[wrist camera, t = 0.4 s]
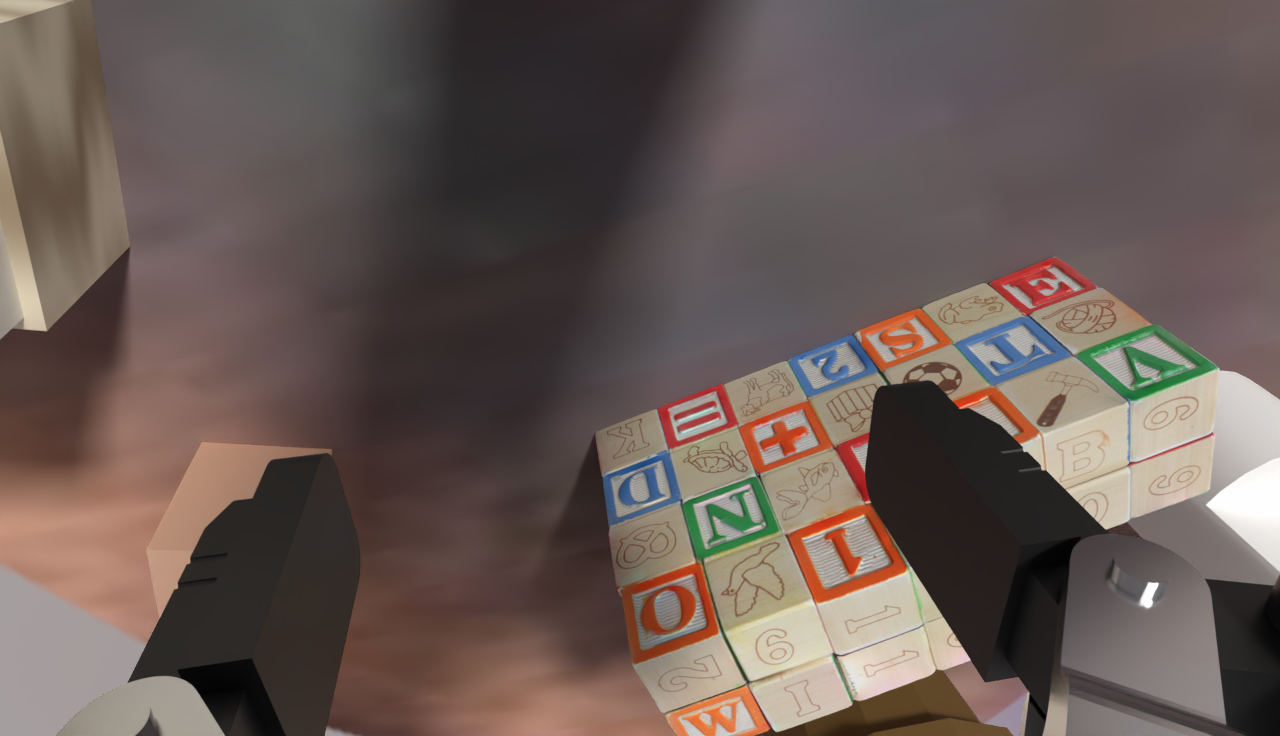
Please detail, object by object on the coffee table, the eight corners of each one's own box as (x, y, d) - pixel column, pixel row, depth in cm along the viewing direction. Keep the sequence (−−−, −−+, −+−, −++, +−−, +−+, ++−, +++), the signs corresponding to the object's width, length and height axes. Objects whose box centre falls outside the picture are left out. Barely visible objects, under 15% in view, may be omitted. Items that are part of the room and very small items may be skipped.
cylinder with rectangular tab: (1293, 367, 39) (1569, 541, 29) (1211, 502, 43) (1423, 691, 33) (1134, 373, 37) (1366, 558, 27) (1067, 511, 42) (1243, 712, 32)
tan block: (202, 441, 31) (146, 549, 26) (332, 448, 33) (302, 553, 28) (212, 531, 34) (164, 645, 29) (333, 534, 35) (306, 645, 30)
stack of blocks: (1055, 248, 33) (1308, 421, 23) (1061, 361, 36) (1282, 555, 26) (590, 431, 34) (628, 671, 24) (638, 522, 38) (690, 766, 28)
